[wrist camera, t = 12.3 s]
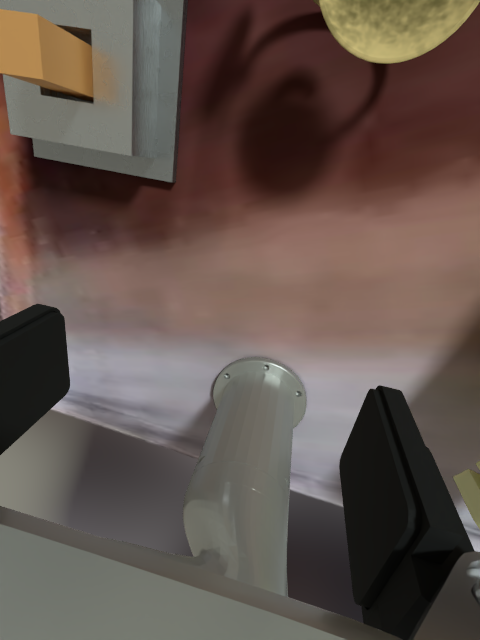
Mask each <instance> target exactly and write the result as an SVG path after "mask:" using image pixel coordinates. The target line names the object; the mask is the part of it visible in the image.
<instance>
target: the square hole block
mask: <svg viewBox="0 0 480 640" xmlns="http://www.w3.org/2000/svg"><path fill="white" fill-rule="evenodd" d="M187 4H188V0H0V9H3V10H11V11H18V12H25V13H33V14H38V15H40V16H41V17H43V18H45V19H46V20H48V21H50V22H51V23H53V24H55V25H57V26H58V27H60V28H62V29H63V30H65V31H67V32H69V33H70V34H72V35H74V36H75V37H77V38H79V39H80V40H82V41H84V42H86V43H87V44H89V45H91V46H92V66H93V97H94V102H92V101H86V100H82V99H79V98H75V97H72V96H69V95H66V94H63V93H60V92H57V91H54V90H51V89H48V88H45V87H41V86H38V85H35V84H32V83H29V82H26V81H23V80H20V79H17V78H14V77H11V76H7V75H4V74H3V79H4V87H5V94H6V102H7V110H8V117H9V125H10V132H11V134H13V135H19V136H24V137H30V138H32V140H33V149H34V157H40V158H45V159H50V160H55V161H61V162H66V163H71V164H77V165H82V166H87V167H92V168H98V169H103V170H108V171H114V172H119V173H124V174H129V175H135V176H140V177H145V178H151V179H156V180H161V181H167V182H172V183H173V182H176V169H177V154H178V139H179V124H180V109H181V94H182V79H183V64H184V49H185V34H186V19H187Z"/></svg>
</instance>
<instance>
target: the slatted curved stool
mask: <svg viewBox="0 0 480 640" xmlns="http://www.w3.org/2000/svg"><path fill="white" fill-rule="evenodd" d="M476 465H477V467H478V468H479V470H480V461H479V462H477V463H476ZM453 478H454V481H455V483H456V485H457V487H458V489H459V491H460V493H461V495H462V497H463V499H464V501H465V504H466V506H467V508H468V510H469V512H470V514H471V516H472V518H473V520H474V521H475V523H476V524H477V526H478V527H479V529H480V474H478V473H476V472H474V471H472V470H470V469H467V470H465V471H463V472H462V473H460V474H457V475H455V476H453Z"/></svg>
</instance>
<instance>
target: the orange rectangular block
mask: <svg viewBox="0 0 480 640" xmlns="http://www.w3.org/2000/svg"><path fill="white" fill-rule="evenodd" d="M0 73H1V74H4V75H7V76H11V77H14V78H17V79H20V80H23V81H26V82H29V83H32V84H35V85H38V86H41V87H45V88H48V89H51V90H54V91H57V92H60V93H63V94H66V95H69V96H72V97H75V98H79V99H82V100H86V101H92V102H94V97H93V66H92V46H91V45H89V44H87V43H86V42H84V41H82V40H80V39H79V38H77V37H75V36H74V35H72V34H70V33H69V32H67V31H65V30H63V29H62V28H60V27H58V26H57V25H55V24H53V23H51V22H50V21H48V20H46V19H45V18H43V17H41V16H40V15H38V14H33V13H25V12H18V11H11V10H3V9H0Z"/></svg>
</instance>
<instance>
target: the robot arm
mask: <svg viewBox="0 0 480 640" xmlns="http://www.w3.org/2000/svg"><path fill="white" fill-rule="evenodd" d="M69 388H70V377H69V366H68V354H67V343H66V332H65V320H64V316H63V315H62V314H61V313H60V311H59V310H58V309H57V308H54V307H50V306H46V305H42V304H36V305H33V306H31V307H29V308H27V309H25V310H23V311H21V312H19V313H17V314H14V315H12V316H10V317H8V318H6V319H4V320H2V321H0V455H1V454H2V453H3V452H4V451H5V450H6V449H8V448H9V446H11V445H12V444H13V443H14V442H15V441H16V440H17V439H18V438H19V437H20V436H22V435H23V434H24V433H25V432H26V431H27V430H28V429H29V428H30V427H31V426H32V425H34V424H35V423H36V422H37V421H38V420H39V419H40V418H41V417H42V416H43V415H45V414H46V413H47V412H48V411H49V410H50V409H51V408H52V407H53V406H54V405H55V404H56V403H58V402H59V401H60V400H61V399H62V398H63V397H64V396H65V395H66V394H67V392H68V390H69ZM213 399H214V403H215V407H216V409H217V412H216V415H215V417H214V420H213V423H212V425H211V428H210V430H209V433H208V436H207V438H206V441H205V444H204V446H203V449H202V451H201V454H200V457H199V459H198V462H197V465H196V467H195V470H194V473H193V475H192V478H191V480H190V483H189V486H188V488H187V491H186V495H185V498H184V505H183V520H184V526H185V532H186V535H187V539H188V542H189V545H190V548H191V551H192V553H193V556H194V557H188V556H183V555H178V554H170V553H166V552H162V551H158V550H154V549H150V548H147V547H143V546H139V545H135V544H131V543H127V542H123V541H117V540H113V539H108V538H102V537H98V536H95V535H92V534H88V533H85V532H82V531H79V530H76V529H72V528H69V527H66V526H63V525H60V524H57V523H53V522H50V521H47V520H44V519H40V518H37V517H34V516H31V515H28V514H24V513H21V512H18V511H15V510H12V509H8V508H5V507H2V506H0V640H480V552H476V551H474V549H473V546H472V544H471V542H470V540H469V537H468V535H467V533H466V531H465V528H464V526H463V524H462V521H461V519H460V517H459V515H458V512H457V510H456V508H455V506H454V503H453V501H452V499H451V497H450V494H449V492H448V490H447V487H446V485H445V483H444V481H443V478H442V476H441V474H440V472H439V469H438V467H437V465H436V463H435V460H434V458H433V456H432V454H431V452H430V450H429V449H428V448H427V447H426V446H425V444H424V442H423V439H422V437H421V435H420V432H419V430H418V428H417V425H416V423H415V421H414V418H413V416H412V414H411V411H410V409H409V407H408V405H407V402H406V400H405V398H404V395H403V393H402V392H401V391H400V390H397V389H392V388H388V387H384V386H378V387H377V388H376V389H375V390H374V389H370V390H369V391H368V393H367V395H366V398H365V400H364V403H363V405H362V407H361V410H360V412H359V415H358V417H357V419H356V422H355V424H354V427H353V429H352V431H351V434H350V436H349V439H348V441H347V443H346V446H345V448H344V450H343V453H342V455H341V459H340V478H341V487H342V496H343V506H344V514H345V523H346V533H347V542H348V551H349V561H350V569H351V579H352V589H353V596H354V601H355V603H356V604H357V605H360V606H362V614H363V622H364V624H363V623H361V622H358V621H356V620H353V619H350V618H347V617H344V616H341V615H338V614H336V613H333V612H330V611H326V610H324V609H321V608H318V607H315V606H312V605H309V604H306V603H303V602H300V601H297V600H294V599H291V598H288V592H287V567H286V566H287V527H288V526H287V524H288V508H289V490H290V473H291V455H292V437H293V428H295V427H296V426H297V425H298V424H299V423H300V421H301V420H302V418H303V416H304V414H305V410H306V392H305V389H304V386H303V384H302V382H301V381H300V379H299V378H298V376H297V375H296V374H295V373H294V372H293V371H292V370H290V369H289V368H288V367H286V366H285V365H283V364H281V363H279V362H277V361H274V360H271V359H267V358H260V357H251V358H244V359H240V360H237V361H235V362H233V363H231V364H229V365H228V366H227V367H225V368H224V369H223V371H222V372H221V373H220V374H219V376H218V378H217V380H216V383H215V385H214V390H213ZM378 629H379V630H378ZM381 630H382V631H381Z"/></svg>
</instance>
